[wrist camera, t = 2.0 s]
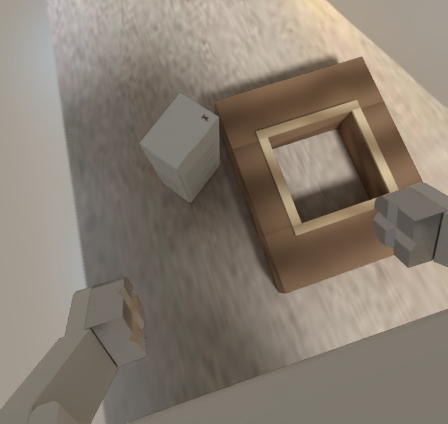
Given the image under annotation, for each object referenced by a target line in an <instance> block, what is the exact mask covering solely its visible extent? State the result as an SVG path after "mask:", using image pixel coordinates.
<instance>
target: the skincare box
mask: <svg viewBox="0 0 448 424" xmlns="http://www.w3.org/2000/svg"><path fill="white" fill-rule="evenodd" d="M139 145H140V147H141V148H142V150H143V152H144V153H145V155H146V156H147V158H148V160H149V161H150V163H151V164H152V166H153V168H154V169H155V171H156V173H157V174H158V176H159V177H160V179H161V181H162V182H163V184H164V185H166V186H167V187H168V188H170V189H171V190H173V191H174V192H175V193H177V194H178V195H179V196H181V197H182V198H183V199H185V200H186V201H188V202H189V203H192V201H193V200H194V199H195V197H196V196H197V195H198V193H199V192H200V191H201V189H202V188H203V187H204V186H205V184H206V183H207V182H208V180H209V179H210V178H211V176H212V175H213V174H214V172H215V171H216V170H217V168H218V167H219V166H220V144H219V117H218V116H217V115H215V114H214V113H212V112H211V111H209V110H207V109H206V108H204V107H203V106H201V105H199V104H198V103H196V102H195V101H193V100H192V99H190V98H189V97H187V96H185V95H184V94H182V93H179V94H178V95H177V97H176V98H175V99H174V100H173V102H172V103H171V104H170V105H169V106H168V108H167V109H166V110H165V111H164V113H163V114H162V115H161V116H160V118H159V119H158V120H157V122H156V123H155V124H154V125H153V127H152V128H151V129H150V130H149V131H148V133H147V134H146V135H145V136H144V138H143V139H142V140H141V141H140V142H139Z"/></svg>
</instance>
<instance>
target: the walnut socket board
mask: <svg viewBox="0 0 448 424" xmlns="http://www.w3.org/2000/svg"><path fill="white" fill-rule="evenodd" d="M215 115H217V116H218V117H219V131H220V133H221V136H222V139H223V141H224V144H225V147H226V150H227V152H228V155H229V158H230V161H231V163H232V166H233V169H234V172H235V174H236V177H237V180H238V182H239V185H240V188H241V191H242V193H243V196H244V199H245V202H246V204H247V207H248V210H249V213H250V215H251V218H252V221H253V224H254V226H255V229H256V232H257V234H258V237H259V240H260V243H261V245H262V248H263V251H264V254H265V256H266V259H267V262H268V265H269V267H270V270H271V273H272V275H273V278H274V281H275V284H276V286H277V289H278V292H280V293H289V292H291V291H294V290H297V289H300V288H303V287H305V286H308V285H311V284H314V283H316V282H319V281H322V280H325V279H328V278H330V277H333V276H336V275H339V274H342V273H344V272H347V271H350V270H353V269H356V268H358V267H361V266H364V265H367V264H369V263H372V262H375V261H378V260H381V259H383V258H386V257H389V256H392V255H394V250H393V248H390V247H387V246H384V245H383V244H382V243H381V242H380V241H379V239H378V238H377V236H376V234H375V231H374V228H373V219H374V218H375V216H376V215H377V213H378V212H377V211H376V210H375V208H374V203H375V200H376V198H377V197H379V196H382V195H385V194H388V193H391V192H394V191H397V190H400V189H403V188H406V187H408V186H411V185H414V184H417V183H420V182H422V183H423V181H422V179H421V177H420V175H419V173H418V171H417V169H416V167H415V165H414V163H413V161H412V159H411V156H410V154H409V152H408V150H407V148H406V146H405V144H404V142H403V140H402V138H401V136H400V134H399V132H398V130H397V128H396V126H395V123H394V121H393V119H392V117H391V115H390V113H389V111H388V109H387V107H386V105H385V103H384V101H383V99H382V97H381V95H380V93H379V90H378V88H377V86H376V84H375V82H374V80H373V78H372V76H371V74H370V72H369V70H368V68H367V66H366V64H365V62H364V60H363V57H359V58H356V59H353V60H349V61H346V62H343V63H339V64H336V65H333V66H329V67H326V68H323V69H319V70H316V71H313V72H309V73H306V74H303V75H300V76H296V77H293V78H290V79H286V80H283V81H280V82H276V83H273V84H270V85H266V86H263V87H260V88H256V89H253V90H250V91H247V92H243V93H240V94H237V95H233V96H230V97H227V98H223V99H220V100H217V101H215ZM337 128H339V130H340V133H341V135H342V137H343V139H344V142H345V144H346V146H347V148H348V151H349V153H350V155H351V157H352V159H353V162H354V164H355V166H356V168H357V171H358V173H359V175H360V177H361V180H362V182H363V184H364V186H365V189H366V191H367V193H368V195H369V198H370V200H368V201H365V202H363V203H360V204H357V205H354V206H351V207H348V208H345V209H342V210H339V211H336V212H333V213H330V214H327V215H324V216H322V217H319V218H316V219H313V220H310V221H307V222H304V223H301V220H300V218H299V215H298V213H297V210H296V208H295V205H294V202H293V200H292V197H291V195H290V192H289V190H288V187H287V185H286V182H285V180H284V177H283V175H282V172H281V170H280V167H279V165H278V162H277V160H276V157H275V154H274V152H273V149H274V148H277V147H280V146H284V145H287V144H290V143H293V142H296V141H299V140H302V139H306V138H309V137H312V136H315V135H318V134H321V133H324V132H327V131H331V130H334V129H337Z"/></svg>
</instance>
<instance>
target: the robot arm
mask: <svg viewBox="0 0 448 424" xmlns="http://www.w3.org/2000/svg"><path fill="white" fill-rule="evenodd" d="M374 208H375V210H376V211H377V212H378V213H377V215H376V216H375V218H374V219H373V228H374V231H375V234H376V236H377V238H378V239H379V241H380V242H381V243H382V244H383V245H384V246H387V247H390V248H393V250H394V255H395V256H396V257H397V258H398V259H399V260H400V261H401V262H402V263H403V264H404V265H406V266H407V267H408V268H409V267H412V266H416V265H419V264H422V263H425V262H429V261H432V260H434V262H436V263H439V264H441V265H444V266H446V267H448V196H447V195H445V194H443V193H442V192H440V191H438V190H436V189H435V188H433V187H431V186H430V185H428V184H426V183H422V182H420V183H417V184H414V185H411V186H408V187H406V188H403V189H400V190H397V191H394V192H391V193H388V194H385V195H382V196H379V197H377V198H376V200H375V203H374ZM144 326H145V319H144V313H143V308H142V305H141V303H140V300H139V298H138V296H137V295H135V294H133V293H132V285H131V283H130V281H129V279H128V278H127V277H123V278H119V279H116V280H112V281H109V282H106V283H102V284H99V285H95V286H93V287H89V288H86V289H83V290H79V291H77V292H75V294H74V295H73V299H72V304H71V308H70V313H69V318H68V323H67V327H66V332H65V337H62V338H59V340H58V341H57V342H56V343H55V344H54V346H53V347H52V348H51V349H50V350H49V352H48V353H47V354H46V355H45V356H44V358H43V359H42V360H41V361H40V362H39V364H38V365H37V366H36V367H35V368H34V370H33V371H32V372H31V373H30V375H29V376H28V377H27V378H26V380H25V381H24V382H23V383H22V384H21V385H20V387H19V388H18V389H17V390H16V391H15V393H14V394H13V395H12V396H11V397H10V399H9V400H8V401H7V402H6V403H5V405H4V406H3V407H2V409H1V410H0V424H91V422H92V420H93V418H94V416H95V414H96V412H97V410H98V408H99V406H100V404H101V402H102V400H103V398H104V396H105V394H106V392H107V390H108V388H109V386H110V384H111V382H112V380H113V378H114V376H115V374H116V372H117V370H118V368H117V367H120V366H123V365H125V364H128V363H131V362H133V361H136V360H139V359H142V358H144V357H146V342H145V336H144V334H143V332H142V329H143V327H144ZM125 424H448V309H446V310H443V311H440V312H437V313H434V314H432V315H429V316H426V317H423V318H420V319H418V320H415V321H412V322H409V323H406V324H404V325H401V326H398V327H395V328H392V329H390V330H387V331H384V332H381V333H378V334H376V335H373V336H370V337H367V338H364V339H361V340H359V341H356V342H353V343H350V344H347V345H345V346H342V347H339V348H336V349H333V350H330V351H328V352H325V353H322V354H319V355H316V356H313V357H311V358H308V359H305V360H302V361H299V362H297V363H294V364H291V365H288V366H285V367H282V368H280V369H277V370H274V371H271V372H268V373H265V374H263V375H260V376H257V377H254V378H251V379H249V380H246V381H243V382H240V383H237V384H235V385H232V386H229V387H226V388H223V389H220V390H218V391H215V392H212V393H209V394H206V395H204V396H201V397H198V398H195V399H192V400H189V401H187V402H184V403H181V404H178V405H175V406H173V407H170V408H167V409H164V410H161V411H158V412H156V413H153V414H150V415H147V416H144V417H142V418H139V419H136V420H133V421H130V422H127V423H125Z"/></svg>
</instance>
